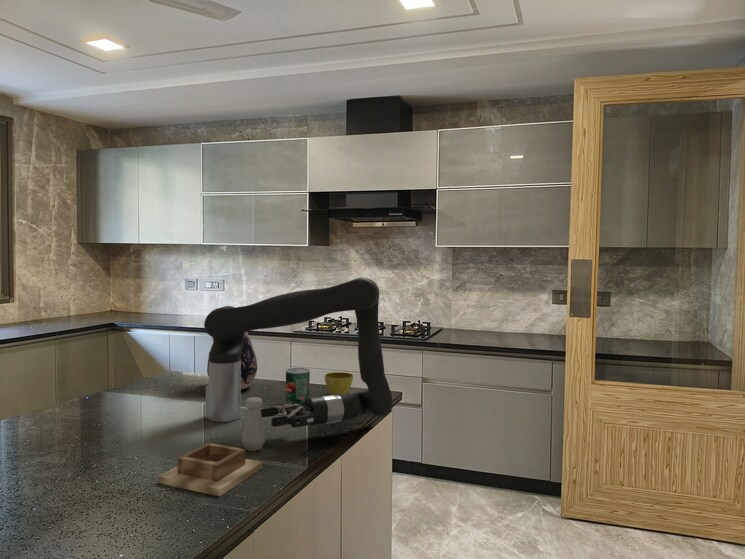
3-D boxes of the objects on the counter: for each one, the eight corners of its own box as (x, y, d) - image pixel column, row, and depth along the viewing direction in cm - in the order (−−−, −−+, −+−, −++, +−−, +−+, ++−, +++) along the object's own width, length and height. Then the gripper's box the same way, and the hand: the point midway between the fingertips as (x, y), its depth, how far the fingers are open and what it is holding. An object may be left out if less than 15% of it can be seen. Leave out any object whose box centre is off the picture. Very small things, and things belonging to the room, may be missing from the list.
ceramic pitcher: (231, 397, 188) (232, 324, 187) (189, 388, 199) (189, 318, 198) (267, 387, 203) (268, 319, 202) (226, 379, 214) (226, 314, 213)
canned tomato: (314, 402, 184) (314, 369, 184) (298, 408, 178) (299, 374, 177) (295, 398, 188) (296, 366, 188) (280, 404, 182) (280, 370, 181)
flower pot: (320, 393, 197) (320, 373, 196) (346, 390, 201) (347, 371, 200) (329, 400, 187) (329, 379, 187) (357, 397, 191) (357, 377, 191)
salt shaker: (259, 453, 138) (260, 402, 137) (238, 451, 139) (238, 400, 138) (268, 445, 144) (269, 396, 143) (247, 443, 145) (248, 394, 144)
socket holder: (158, 483, 120) (158, 460, 119) (205, 457, 134) (205, 437, 134) (220, 496, 114) (220, 472, 113) (262, 468, 129) (262, 447, 128)
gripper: (313, 390, 157) (257, 396, 148) (335, 402, 144) (276, 410, 136) (312, 416, 157) (257, 424, 149) (334, 431, 145) (275, 440, 137)
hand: (266, 417), depth 142 cm, fingers open, 8 cm apart
